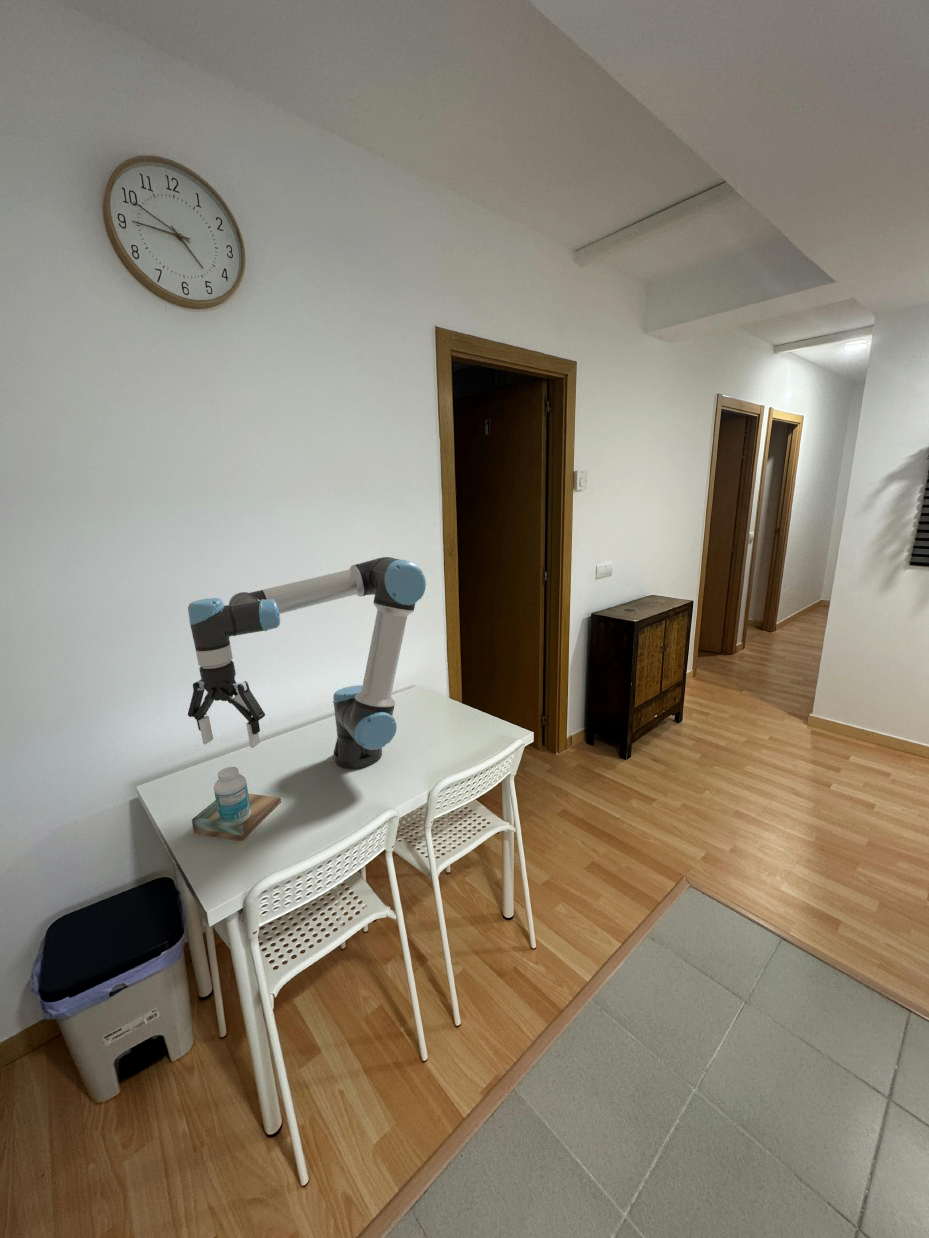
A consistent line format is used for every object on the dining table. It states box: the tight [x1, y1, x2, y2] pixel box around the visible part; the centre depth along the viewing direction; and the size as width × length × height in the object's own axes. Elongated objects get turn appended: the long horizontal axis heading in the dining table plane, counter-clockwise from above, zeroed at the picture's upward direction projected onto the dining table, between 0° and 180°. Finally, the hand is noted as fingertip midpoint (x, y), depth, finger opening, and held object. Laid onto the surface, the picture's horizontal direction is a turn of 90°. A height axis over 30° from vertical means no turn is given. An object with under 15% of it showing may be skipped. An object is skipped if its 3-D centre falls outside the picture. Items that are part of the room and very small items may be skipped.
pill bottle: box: [213, 766, 251, 824], centre depth 126 cm, size 8×7×14 cm
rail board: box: [191, 793, 282, 842], centre depth 130 cm, size 14×16×4 cm
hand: (231, 743), depth 125 cm, fingers open, 13 cm apart
